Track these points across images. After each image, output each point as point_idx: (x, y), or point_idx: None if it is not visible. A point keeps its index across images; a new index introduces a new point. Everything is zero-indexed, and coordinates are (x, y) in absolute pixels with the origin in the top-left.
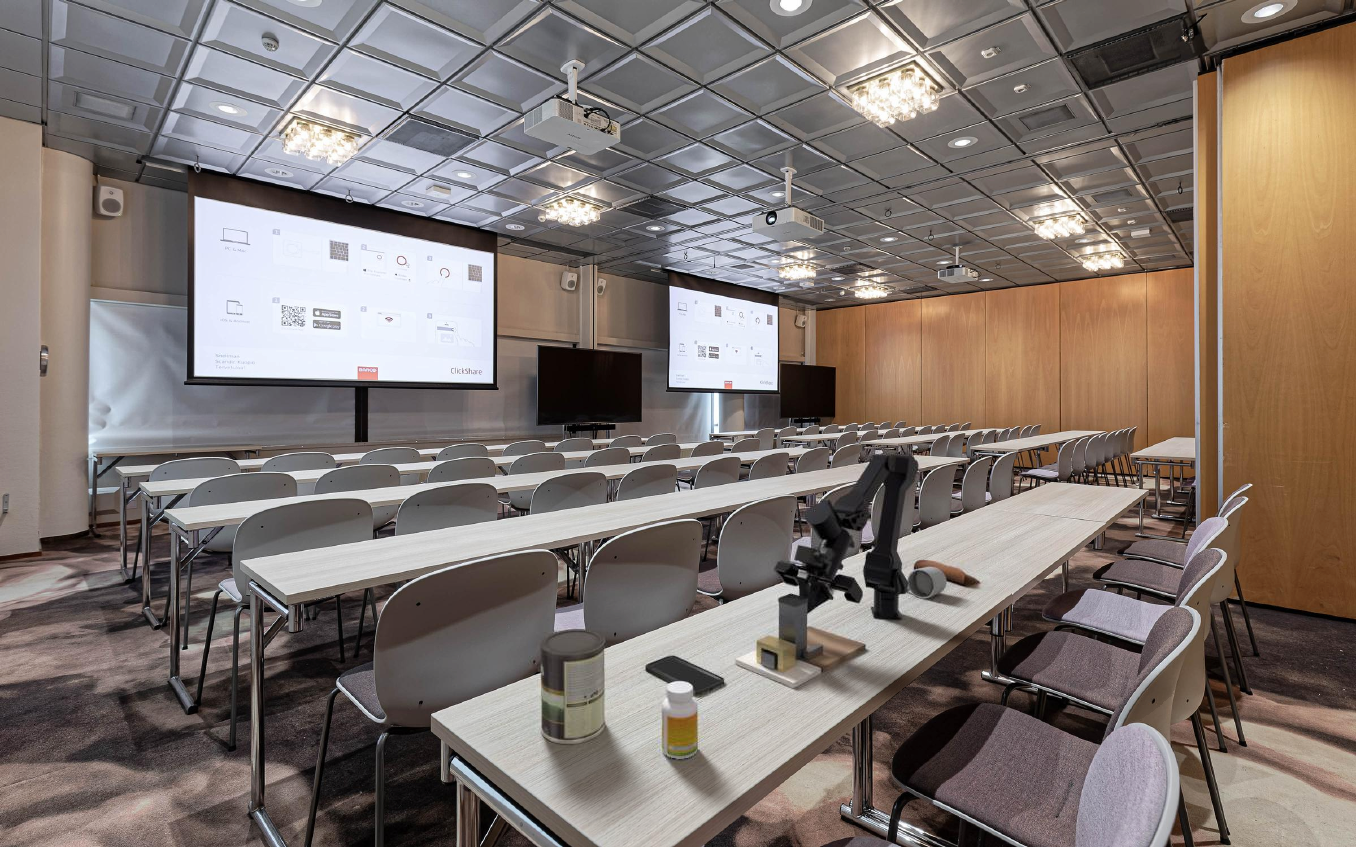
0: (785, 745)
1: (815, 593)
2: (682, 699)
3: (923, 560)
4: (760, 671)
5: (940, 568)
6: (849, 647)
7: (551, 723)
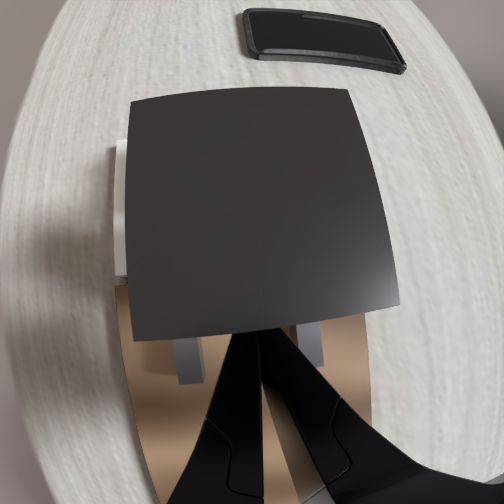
0: (55, 46)
1: (168, 499)
2: None
3: None
4: None
5: None
6: (172, 474)
7: None
